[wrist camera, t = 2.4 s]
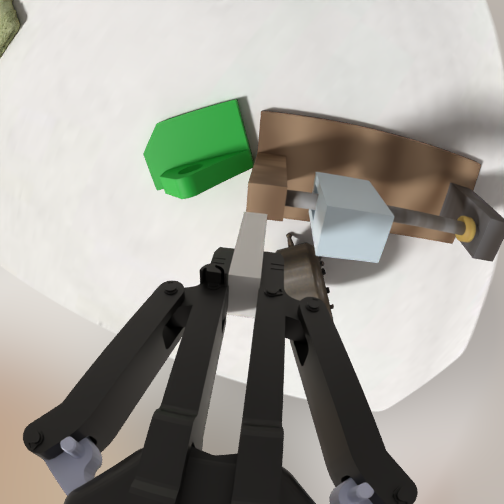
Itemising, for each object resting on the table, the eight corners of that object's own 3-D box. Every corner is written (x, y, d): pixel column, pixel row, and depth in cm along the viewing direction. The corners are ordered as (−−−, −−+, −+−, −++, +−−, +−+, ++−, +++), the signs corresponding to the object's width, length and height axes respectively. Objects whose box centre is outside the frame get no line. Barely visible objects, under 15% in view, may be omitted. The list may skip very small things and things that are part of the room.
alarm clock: (273, 228, 36) (266, 331, 22) (315, 218, 34) (333, 319, 21) (294, 292, 41) (295, 391, 28) (331, 284, 40) (345, 384, 26)
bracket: (237, 98, 27) (225, 104, 22) (254, 163, 31) (247, 185, 26) (140, 129, 30) (111, 143, 24) (161, 186, 34) (138, 210, 28)
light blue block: (308, 211, 26) (315, 255, 20) (315, 171, 24) (327, 205, 18) (359, 219, 26) (378, 262, 20) (368, 180, 24) (394, 216, 18)
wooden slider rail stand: (253, 210, 34) (242, 261, 26) (261, 110, 27) (252, 125, 19) (448, 239, 33) (482, 286, 25) (476, 161, 26) (524, 195, 18)
